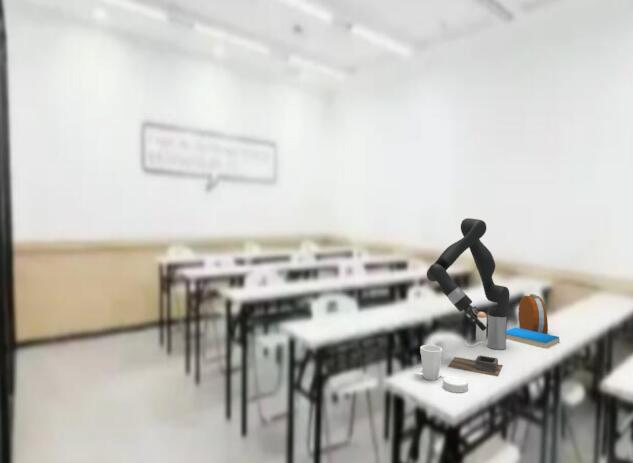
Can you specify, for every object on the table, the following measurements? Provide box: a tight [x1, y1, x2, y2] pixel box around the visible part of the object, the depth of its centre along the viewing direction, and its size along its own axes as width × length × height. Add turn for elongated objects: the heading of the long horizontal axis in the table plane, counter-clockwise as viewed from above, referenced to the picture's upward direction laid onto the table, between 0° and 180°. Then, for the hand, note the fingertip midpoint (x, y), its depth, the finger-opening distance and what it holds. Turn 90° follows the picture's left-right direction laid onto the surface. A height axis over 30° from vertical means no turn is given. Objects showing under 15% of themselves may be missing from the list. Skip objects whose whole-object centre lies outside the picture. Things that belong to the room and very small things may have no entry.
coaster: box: [442, 375, 469, 394], centre depth 186 cm, size 10×10×4 cm
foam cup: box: [419, 344, 443, 381], centre depth 197 cm, size 10×9×13 cm
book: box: [506, 326, 560, 350], centre depth 253 cm, size 17×4×25 cm
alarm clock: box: [517, 293, 549, 334], centre depth 270 cm, size 22×10×23 cm, turn 179°
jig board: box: [447, 354, 504, 377], centre depth 208 cm, size 16×22×5 cm
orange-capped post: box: [475, 311, 488, 343], centre depth 206 cm, size 4×4×13 cm
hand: (485, 328), depth 205 cm, fingers closed on orange-capped post, 4 cm apart
